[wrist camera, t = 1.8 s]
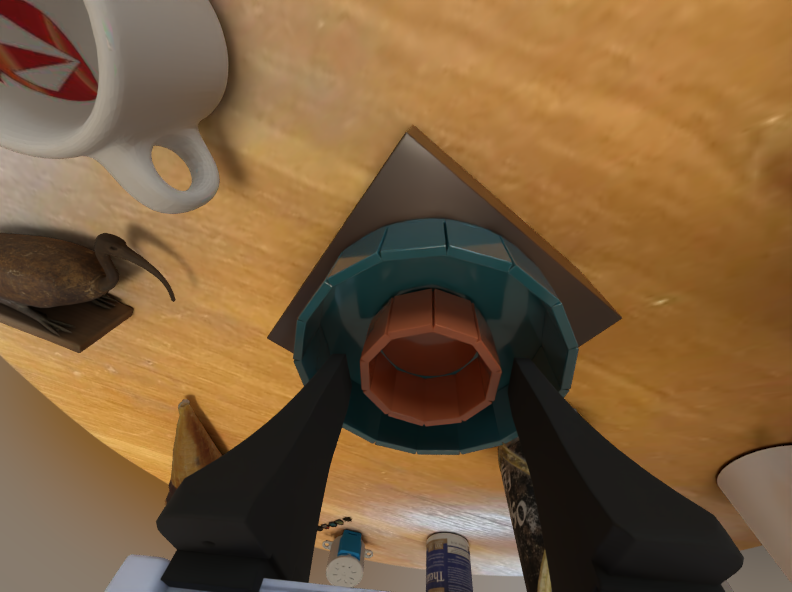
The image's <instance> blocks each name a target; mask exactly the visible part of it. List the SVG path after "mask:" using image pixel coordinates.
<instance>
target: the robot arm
mask: <svg viewBox="0 0 792 592" xmlns="http://www.w3.org/2000/svg"><path fill="white" fill-rule="evenodd" d="M351 389H352V384H351V379H350V373H349V368H348V363H347V357H346V354H332V355H331V356H330V357H329V358H328V359H327V360H326V362H325V363H324V364H323V365H322V367H321V368H320V369H319V370H318V371H317V372H316V374H315V375H314V376H313V377H312V378H311V379H310V381H309V382H308V383H307V384H306V385H305V386H304V387H303V388H302V389H301V391H300V392H299V393H298V394H297V395H296V396H295V397H294V398H293V399H292V400H291V401H290V402H289V403H288V404H287V405H286V406H285V407H284V408H283V409H282V410H281V411H280V412H278V413H277V414H276V415H275V416H274V417H273V418H272V419H271V420H269V421H268V422H267V423H266V424H265V425H263V426H262V427H261V428H260V429H259V430H257V431H256V432H255V433H253V434H252V435H251V436H249V437H248V438H247V439H246V440H244V441H243V442H241V443H240V444H239V445H237V446H236V447H234V448H233V449H231V450H230V451H228V452H227V453H225V454H224V455H222V456H221V457H219V458H218V459H216V460H215V461H213V462H211V463H210V464H208V465H206V466H205V467H203V468H201V469H200V470H198V471H196V472H195V473H193V474H191V475H189V476H188V477H186V478H184V480H183V481H182V483H181V484H180V485H179V487H178V488H177V489H176V491H175V493H174V494H173V496H172V497H171V499H170V500H169V502H168V503H167V505H166V507H165V508H164V510H163V511H162V513H161V514H160V516H159V517H158V519H157V521H156V523H157V528H158V530H159V531H160V533H161V534H162V535H163V536H164V537H165V538H166V539H167V540H168V541H169V542H170V543H171V544H172V545H173V546H174V547H175V548H176V549H177V551H176V553H175V554H174V556H173V558H172V560H171V561H170V560H168V559H165V558H161V557H154V556H144V555H135V554H131V555H129V556H128V557H127V558H126V560H125V561H124V563H123V564H122V566H121V567H120V569H119V570H118V572H117V573H116V575H115V576H114V577H113V579H112V580H111V582H110V583H109V585H108V587H107V588H106V589H105V591H104V592H387V591H380V590H369V589H361V588H351V587H342V586H332V585H323V584H314V583H309V575H310V570H311V563H312V557H313V551H314V545H315V539H316V534H317V528H318V523H319V517H320V512H321V507H322V502H323V497H324V492H325V487H326V482H327V478H328V473H329V469H330V465H331V461H332V457H333V454H334V451H335V448H336V445H337V441H338V438H339V435H340V432H341V429H342V426H343V422H344V419H345V416H346V413H347V409H348V405H349V400H350V395H351ZM508 397H509V403H510V408H511V413H512V417H513V421H514V424H515V427H516V431H517V434H518V437H519V440H520V443H521V447H522V450H523V453H524V456H525V459H526V463H527V466H528V469H529V473H530V477H531V481H532V485H533V490H534V495H535V499H536V504H537V509H538V514H539V519H540V525H541V530H542V535H543V541H544V546H545V552H546V558H547V563H548V569H549V575H550V582H551V588H552V592H725V590H724V588H723V587H722V585H721V584H722V583H723V582H724V581H726V580H727V579H728V578H729V577H731V576H732V575H733V574H735V573H736V572H737V571H738V570H739V569H740V568H741V567H742V565H743V560H744V557H743V556H742V554H741V553H740V551H739V550H738V548H737V547H736V545H735V544H734V542H733V541H732V539H731V538H730V536H729V535H728V533H727V532H726V530H725V529H724V528H723V526H722V525H721V524H720V522H719V521H718V520H717V519H716V517H715V516H714V515H713V514H711V513H710V512H708V511H706V510H705V509H703V508H702V507H700V506H698V505H697V504H695V503H694V502H692V501H690V500H689V499H687V498H686V497H684V496H683V495H681V494H679V493H678V492H676V491H675V490H673V489H672V488H670V487H669V486H667V485H666V484H664V483H663V482H662V481H660V480H659V479H657V478H656V477H654V476H653V475H651V474H650V473H649V472H647V471H646V470H645V469H643V468H642V467H640V466H639V465H638V464H637V463H635V462H634V461H633V460H631V459H630V458H629V457H627V456H626V455H625V454H624V453H622V452H621V451H620V450H618V449H617V448H616V447H615V446H614V445H612V444H611V443H610V442H609V441H608V440H606V439H605V438H604V437H603V436H602V435H601V434H600V433H598V432H597V431H596V430H595V429H594V428H593V427H592V426H591V425H590V424H589V423H588V422H587V421H585V420H584V419H583V418H582V417H581V416H580V415H579V414H578V413H577V412H576V411H575V410H574V409H573V408H572V406H571V405H570V404H569V403H568V402H567V401H566V400H565V399H564V398H563V397H562V396H561V395H560V393H559V392H558V391H557V390H556V389H555V388H554V387H553V386H552V384H551V383H550V382H549V381H548V380H547V379H546V377H545V376H544V375H543V374H542V373H541V371H540V370H539V369H538V368H537V366H536V365H535V364H534V363H533V361H532V360H531V359H530V358H514V360H513V365H512V371H511V376H510V381H509V387H508ZM388 592H389V591H388Z"/></svg>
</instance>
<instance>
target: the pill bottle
mask: <svg viewBox="0 0 792 592" xmlns="http://www.w3.org/2000/svg"><path fill="white" fill-rule="evenodd" d="M426 592H473V587H472V575H471V564H470V551H469V544H468V542H467V540H466V539H465V538H463V537H461V536H459V535H456V534H451V533H438V534H434V535H432V536H430V537H429V538H428V540H427V551H426Z"/></svg>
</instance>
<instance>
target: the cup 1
mask: <svg viewBox="0 0 792 592" xmlns="http://www.w3.org/2000/svg"><path fill="white" fill-rule="evenodd" d="M227 80H228V52H227V46H226V42H225V38H224V34H223V31H222V28H221V25H220V22H219V20H218V18H217V15H216V13H215V11H214V9H213V7H212V5H211V3H210V2H209V0H0V146H1V147H3V148H6V149H9V150H12V151H15V152H18V153H21V154H25V155H30V156H34V157H40V158H52V159H64V158H73V157H78V156H87V157H91V158H93V159H95V160H97V161H98V162H99V163H100V164H101V165H103V166H104V167H105V169H106V170H107V171H108V172H109V173H110V174H111V175H112V176H113V177H114V179H115V180H116V181H117V182H118V183H119V184H120V185H121V186H122V187H123V188H124V189H125V190H126V191H127V192H128V193H129V194H130V195H131V196H132V197H134V198H135V199H136V200H137V201H139V202H140V203H142V204H143V205H145V206H146V207H148V208H150V209H152V210H155V211H158V212H161V213H168V214H177V213H184V212H188V211H191V210H194V209H197V208H199V207H201V206H203V205H205V204H206V203H207V202H209V201H210V200H211V199H212V198H213V197H214V195H215V194H216V192H217V190H218V188H219V183H220V178H219V172H218V169H217V166H216V163H215V161H214V159H213V157H212V155H211V153H210V151H209V150H208V148H207V146H206V144H205V143H204V141H203V139H202V137H201V135H200V133H199V130H198V124H199V122H200V121H201V120H203V119H204V118H206V117H207V116H208V115H210V114H211V113H212V112H213V110H214V109H215V108H216V107H217V106H218V104H219V103H220V101H221V99H222V97H223V95H224V92H225V89H226V85H227ZM154 145H156V146H162V147H165V148H168V149H170V150H172V151H173V152H175V153H176V154H177V155H179V156H180V157H181V158H182V159H183V161H184V162H185V163H186V165H187V166H188V168H189V170H190V172H191V176H192V183H191V186H190V188H189V189H188V190H186V191H179V190H176V189H174V188H173V187H171V186H170V185H168V184H167V183H166V182H165V181H164V180H163V179H162V178H161V177H160V175H159V174H158V172H157V171H156V169H155V167H154V165H153V162H152V157H151V151H152V148H153V146H154Z"/></svg>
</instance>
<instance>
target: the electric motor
mask: <svg viewBox="0 0 792 592" xmlns="http://www.w3.org/2000/svg"><path fill="white" fill-rule="evenodd" d="M325 543H328V544H329V546H325ZM323 547H324V548H325V549H329V550H330V554H329V559H328V564H327V569H326V576H327V579H328V580H329V582H330V583H331V584H333V585H334V586H342V587H354V586H355V585H357V584H358V583H359V582H360V581H361V579H362V576H363V568H364V557H366V558H371V557H372V556H373V552H372V551H371V550H367V549H365V544H364V543H363V541H362V540H361V533H358V532H353V531H349V530H344V532H343V535H340V536H338V537H336V538H335V540H334V541H333V542H332V541H328V540H326V541H324V542H323ZM368 552H370V553H371V555H367V553H368Z"/></svg>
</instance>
